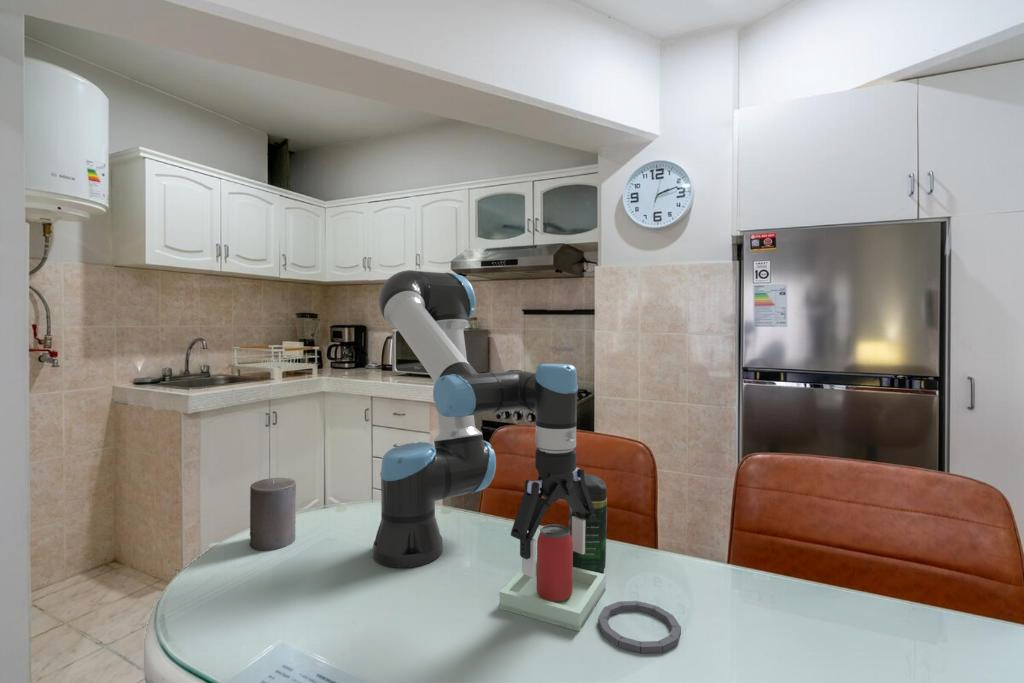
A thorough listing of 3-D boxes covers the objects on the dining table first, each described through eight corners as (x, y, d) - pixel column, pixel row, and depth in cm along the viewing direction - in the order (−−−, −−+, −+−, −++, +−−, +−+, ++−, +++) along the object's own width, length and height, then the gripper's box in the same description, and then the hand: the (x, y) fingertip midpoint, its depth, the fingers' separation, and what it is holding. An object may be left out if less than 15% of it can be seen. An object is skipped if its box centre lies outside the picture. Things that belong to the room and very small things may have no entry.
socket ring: (589, 638, 82) (589, 632, 82) (611, 599, 94) (611, 594, 94) (672, 662, 76) (672, 656, 76) (685, 618, 88) (685, 612, 88)
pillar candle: (239, 547, 115) (239, 481, 114) (271, 530, 124) (271, 470, 123) (275, 554, 112) (275, 486, 111) (305, 536, 121) (305, 474, 121)
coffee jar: (608, 576, 103) (609, 485, 102) (568, 574, 103) (569, 483, 103) (603, 554, 112) (604, 471, 112) (567, 553, 113) (568, 470, 113)
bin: (499, 608, 91) (499, 591, 91) (533, 572, 104) (534, 557, 104) (579, 631, 84) (579, 613, 84) (605, 589, 97) (605, 574, 97)
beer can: (529, 590, 95) (530, 527, 95) (558, 582, 99) (559, 520, 98) (549, 607, 90) (550, 540, 89) (579, 597, 93) (580, 532, 93)
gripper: (521, 464, 82) (520, 594, 83) (613, 441, 99) (611, 549, 100) (491, 456, 87) (490, 577, 88) (582, 435, 105) (581, 537, 105)
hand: (554, 562), depth 94 cm, fingers open, 13 cm apart
